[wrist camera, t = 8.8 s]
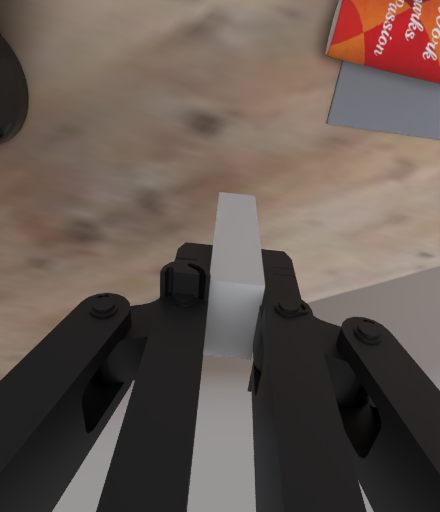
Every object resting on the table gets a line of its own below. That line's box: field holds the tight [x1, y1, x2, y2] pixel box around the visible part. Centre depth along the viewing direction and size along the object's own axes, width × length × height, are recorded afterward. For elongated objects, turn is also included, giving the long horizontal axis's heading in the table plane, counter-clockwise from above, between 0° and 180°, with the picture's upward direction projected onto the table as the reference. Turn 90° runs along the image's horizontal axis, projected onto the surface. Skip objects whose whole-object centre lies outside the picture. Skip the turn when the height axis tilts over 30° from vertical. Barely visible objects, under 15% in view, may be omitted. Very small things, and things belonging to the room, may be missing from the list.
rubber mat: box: [326, 60, 440, 140], centre depth 39 cm, size 16×18×1 cm
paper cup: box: [326, 0, 440, 84], centre depth 35 cm, size 8×8×14 cm
